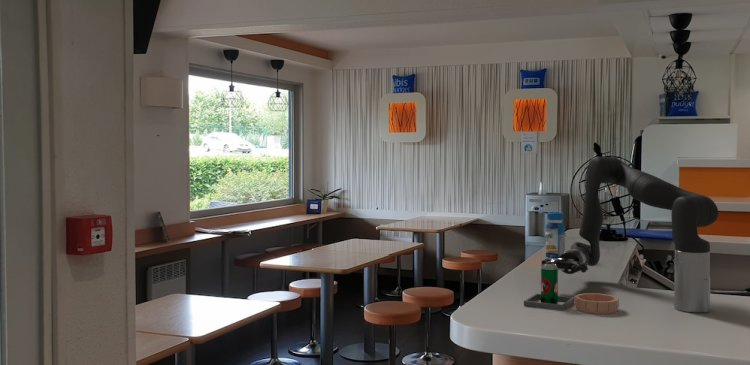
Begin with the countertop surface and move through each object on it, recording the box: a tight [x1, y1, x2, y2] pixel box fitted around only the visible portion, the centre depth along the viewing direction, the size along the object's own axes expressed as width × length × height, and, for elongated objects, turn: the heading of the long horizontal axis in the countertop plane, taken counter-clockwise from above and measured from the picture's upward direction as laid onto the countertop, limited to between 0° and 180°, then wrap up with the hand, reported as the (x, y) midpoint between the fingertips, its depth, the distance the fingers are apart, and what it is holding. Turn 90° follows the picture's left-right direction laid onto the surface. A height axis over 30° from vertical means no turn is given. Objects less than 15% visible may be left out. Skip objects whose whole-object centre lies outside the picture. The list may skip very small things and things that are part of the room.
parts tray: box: [523, 293, 575, 311], centre depth 203 cm, size 12×12×2 cm
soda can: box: [540, 264, 559, 304], centre depth 203 cm, size 5×5×12 cm
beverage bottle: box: [544, 211, 566, 261], centre depth 288 cm, size 8×8×20 cm
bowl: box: [573, 292, 620, 315], centre depth 196 cm, size 12×12×4 cm
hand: (558, 268), depth 212 cm, fingers open, 8 cm apart
